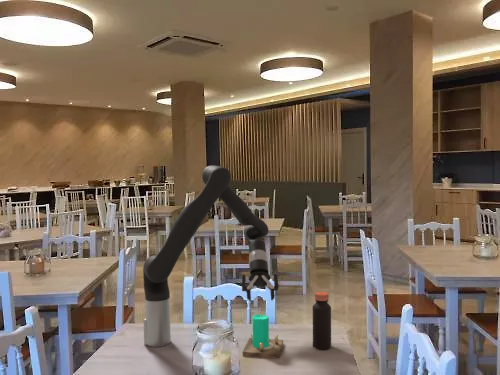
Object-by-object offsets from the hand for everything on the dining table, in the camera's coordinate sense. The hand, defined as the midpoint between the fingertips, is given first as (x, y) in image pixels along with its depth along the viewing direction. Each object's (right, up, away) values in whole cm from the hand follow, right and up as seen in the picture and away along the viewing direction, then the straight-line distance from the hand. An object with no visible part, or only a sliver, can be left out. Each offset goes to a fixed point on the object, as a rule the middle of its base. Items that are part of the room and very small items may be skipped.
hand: (261, 299), depth 172 cm
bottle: (+23, -16, -5) cm, 28 cm away
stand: (+1, -17, -7) cm, 18 cm away
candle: (0, -15, -7) cm, 17 cm away
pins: (0, -15, -8) cm, 17 cm away
